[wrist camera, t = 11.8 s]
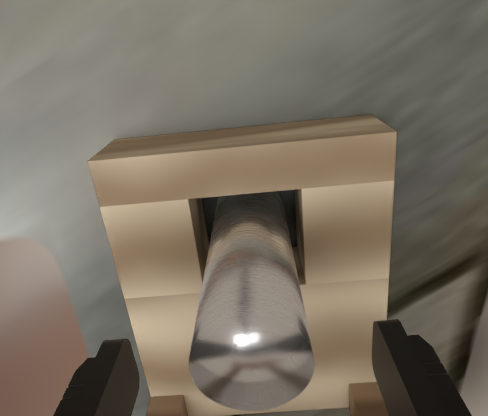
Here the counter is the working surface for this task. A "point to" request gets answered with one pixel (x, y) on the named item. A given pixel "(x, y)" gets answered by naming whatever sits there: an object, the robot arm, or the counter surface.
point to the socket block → (305, 254)
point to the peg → (251, 309)
